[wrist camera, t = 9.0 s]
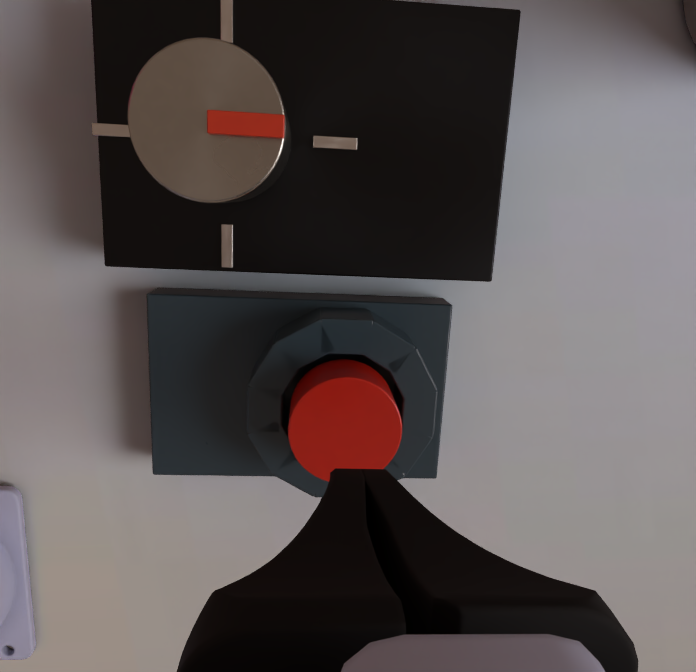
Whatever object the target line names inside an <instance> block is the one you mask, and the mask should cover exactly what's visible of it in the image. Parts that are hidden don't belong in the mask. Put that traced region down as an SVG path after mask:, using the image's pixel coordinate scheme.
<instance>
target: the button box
mask: <svg viewBox="0 0 696 672" xmlns="http://www.w3.org/2000/svg"><path fill="white" fill-rule="evenodd" d="M451 315H452V305H451V304H450V303H448V302H447V301H446V300H444V299H443V298H424V297H397V296H370V295H344V294H317V293H290V292H263V291H237V290H210V289H183V288H157V289H155V290H153V291H151V292H150V293H148V294H147V321H148V350H149V379H150V407H151V436H152V464H153V474H154V475H224V476H276V477H278V478H280V479H282V480H284V481H286V482H287V483H289V484H291V485H293V486H295V487H297V488H298V489H300V490H302V491H304V492H306V493H308V494H309V495H311V496H315V497H323V495H324V493H325V491H326V489H327V486H328V483H329V482H328V481H325V480H322V479H320V478H318V477H316V476H314V475H312V474H311V473H309V472H308V471H307V470H306V469H304V468H303V467H302V466H301V464H300V463H299V462H298V461H297V459H296V458H295V456H294V454H293V452H292V450H291V447H290V444H289V439H288V424H289V413H290V403H291V398H292V394H293V392H294V389H295V387H296V386H297V384H298V382H299V381H300V380H301V378H302V377H303V376H304V375H305V374H306V373H307V372H308V371H310V370H311V369H312V368H314V367H316V366H317V365H320V364H322V363H324V362H328V361H331V360H337V359H348V360H354V361H359V362H361V363H364V364H366V365H368V366H370V367H372V368H373V369H374V370H376V371H377V372H378V373H379V374H380V375H381V376H382V377H383V378H384V379H385V381H386V382H387V384H388V386H389V388H390V390H391V393H392V395H393V398H394V400H395V402H396V405H397V407H398V410H399V412H400V416H401V420H402V437H401V442H400V445H399V448H398V450H397V452H396V454H395V456H394V457H393V459H392V460H391V461H390V462H389V464H388V465H387V466H386V467H385V468H384V469H386V470H387V471H388V472H389V473H390V474H391V475H392V476H393V477H394V478H395V479H396V480H399V479H401V478H436V477H437V466H438V456H439V445H440V434H441V423H442V412H443V402H444V391H445V380H446V369H447V358H448V348H449V337H450V326H451Z"/></svg>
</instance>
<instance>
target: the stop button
mask: <svg viewBox="0 0 696 672" xmlns="http://www.w3.org/2000/svg"><path fill="white" fill-rule="evenodd" d="M401 437H402V420H401V416H400V412H399V410H398V407H397V405H396V402H395V400H394V398H393V395H392V393H391V390H390V388H389V386H388V384H387V382H386V381H385V379H384V378H383V377H382V376H381V375H380V374H379V373H378V372H377V371H376V370H374V369H373V368H372V367H370V366H368V365H366V364H364V363H361V362H359V361H354V360H348V359H337V360H331V361H328V362H324V363H322V364H320V365H317V366H316V367H314V368H312V369H311V370H310V371H308V372H307V373H306V374H305V375H304V376H303V377H302V378H301V380H300V381H299V382H298V384H297V386H296V387H295V389H294V392H293V394H292V398H291V403H290V413H289V424H288V439H289V444H290V447H291V450H292V452H293V454H294V456H295V458H296V459H297V461H298V462H299V463H300V464H301V466H302V467H303V468H304V469H306V470H307V471H308V472H309V473H311V474H312V475H314V476H316V477H318V478H320V479H322V480H325V481H328V482H329V480H330V472H332V471H333V470H334V469H335V468H343V469H384V468H385V467H386V466H387V465H388V464H389V462H390V461H391V460H392V459H393V457H394V456H395V454H396V452H397V450H398V448H399V445H400V442H401Z"/></svg>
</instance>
